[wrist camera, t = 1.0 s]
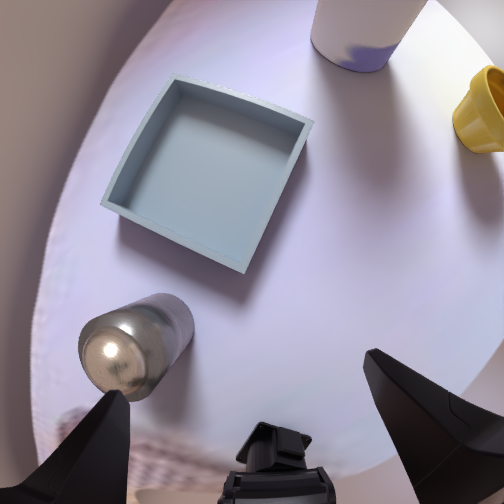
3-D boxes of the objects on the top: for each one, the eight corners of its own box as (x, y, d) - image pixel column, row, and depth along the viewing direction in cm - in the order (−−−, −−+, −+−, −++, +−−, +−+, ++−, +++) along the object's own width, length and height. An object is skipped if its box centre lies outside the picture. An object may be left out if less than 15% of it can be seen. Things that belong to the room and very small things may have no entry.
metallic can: (181, 362, 25) (132, 432, 13) (129, 334, 26) (56, 381, 13) (204, 310, 25) (160, 357, 13) (148, 282, 26) (71, 303, 13)
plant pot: (470, 180, 25) (524, 161, 15) (427, 106, 25) (471, 68, 15) (501, 153, 25) (546, 135, 15) (465, 90, 25) (503, 60, 15)
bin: (246, 271, 25) (244, 274, 21) (119, 210, 26) (99, 204, 22) (306, 138, 25) (314, 121, 21) (182, 93, 26) (172, 73, 22)
